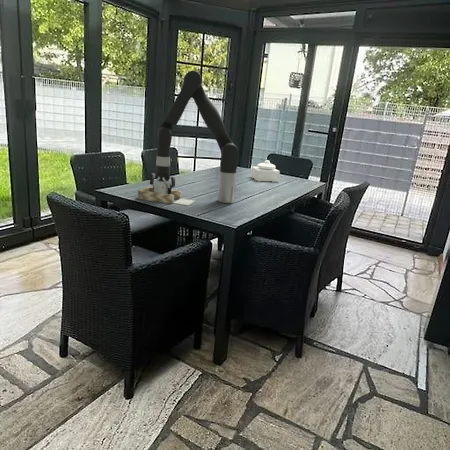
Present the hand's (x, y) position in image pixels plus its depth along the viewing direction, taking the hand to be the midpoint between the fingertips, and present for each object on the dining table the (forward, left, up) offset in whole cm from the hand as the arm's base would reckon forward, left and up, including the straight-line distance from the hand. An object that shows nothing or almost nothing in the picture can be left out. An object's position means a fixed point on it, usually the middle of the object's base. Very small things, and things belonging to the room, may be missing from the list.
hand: (162, 193), depth 205 cm
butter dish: (-42, -105, -4) cm, 113 cm away
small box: (0, 0, -4) cm, 4 cm away
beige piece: (+1, 0, -3) cm, 3 cm away
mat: (-14, 0, -3) cm, 14 cm away
